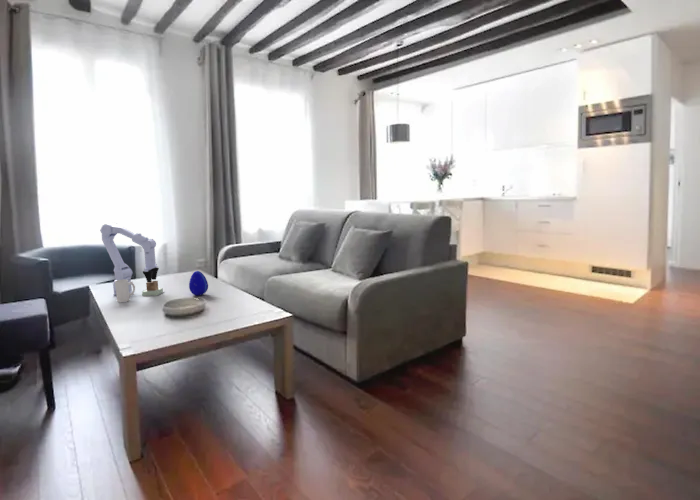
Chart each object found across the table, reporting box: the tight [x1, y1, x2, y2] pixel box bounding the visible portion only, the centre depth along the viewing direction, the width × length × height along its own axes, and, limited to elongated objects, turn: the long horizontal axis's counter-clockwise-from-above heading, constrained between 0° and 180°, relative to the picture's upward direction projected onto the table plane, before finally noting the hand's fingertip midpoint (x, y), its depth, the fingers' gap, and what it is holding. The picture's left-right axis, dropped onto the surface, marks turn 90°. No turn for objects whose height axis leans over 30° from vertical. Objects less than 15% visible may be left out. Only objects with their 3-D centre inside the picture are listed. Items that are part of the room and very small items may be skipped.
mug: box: [114, 279, 136, 303], centre depth 248 cm, size 10×7×12 cm, turn 119°
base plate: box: [141, 287, 164, 297], centre depth 263 cm, size 9×9×3 cm
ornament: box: [188, 270, 209, 296], centre depth 258 cm, size 11×9×15 cm
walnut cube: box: [145, 280, 159, 291], centre depth 263 cm, size 5×5×5 cm
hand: (151, 280), depth 262 cm, fingers open, 7 cm apart
